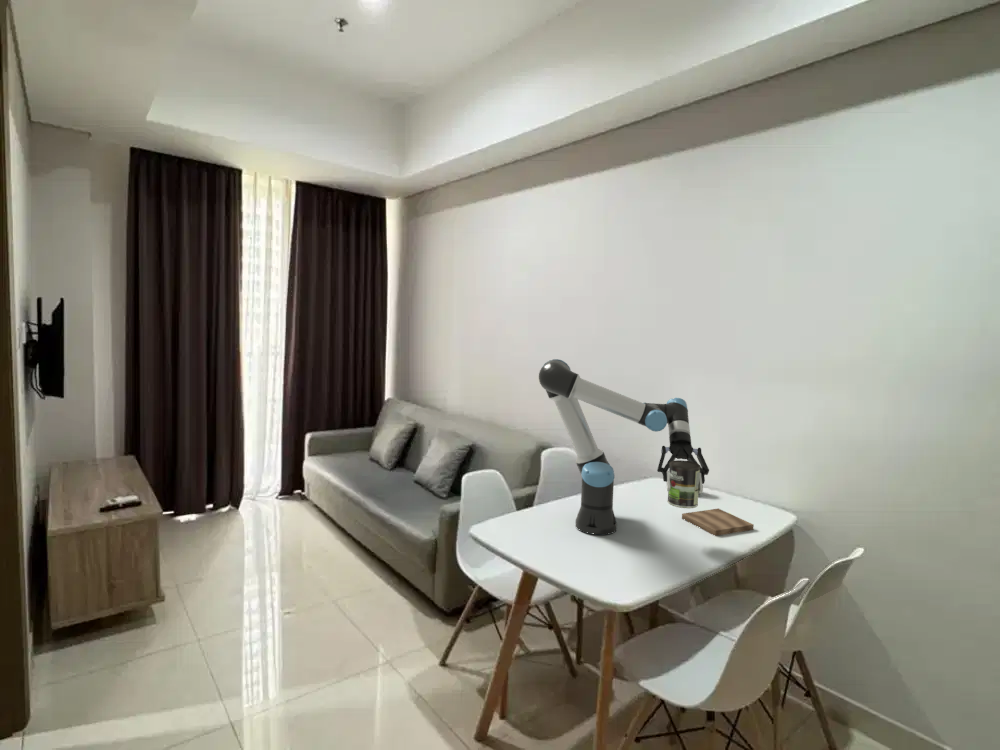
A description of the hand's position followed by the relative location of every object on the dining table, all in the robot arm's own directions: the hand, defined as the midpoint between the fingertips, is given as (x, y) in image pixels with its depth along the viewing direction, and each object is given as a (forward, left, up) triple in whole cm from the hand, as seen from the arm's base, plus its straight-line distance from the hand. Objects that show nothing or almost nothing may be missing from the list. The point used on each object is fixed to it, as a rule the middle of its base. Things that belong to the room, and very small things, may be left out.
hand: (684, 490), depth 188 cm
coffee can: (+1, +2, -6) cm, 6 cm away
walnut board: (+25, +11, -19) cm, 33 cm away
